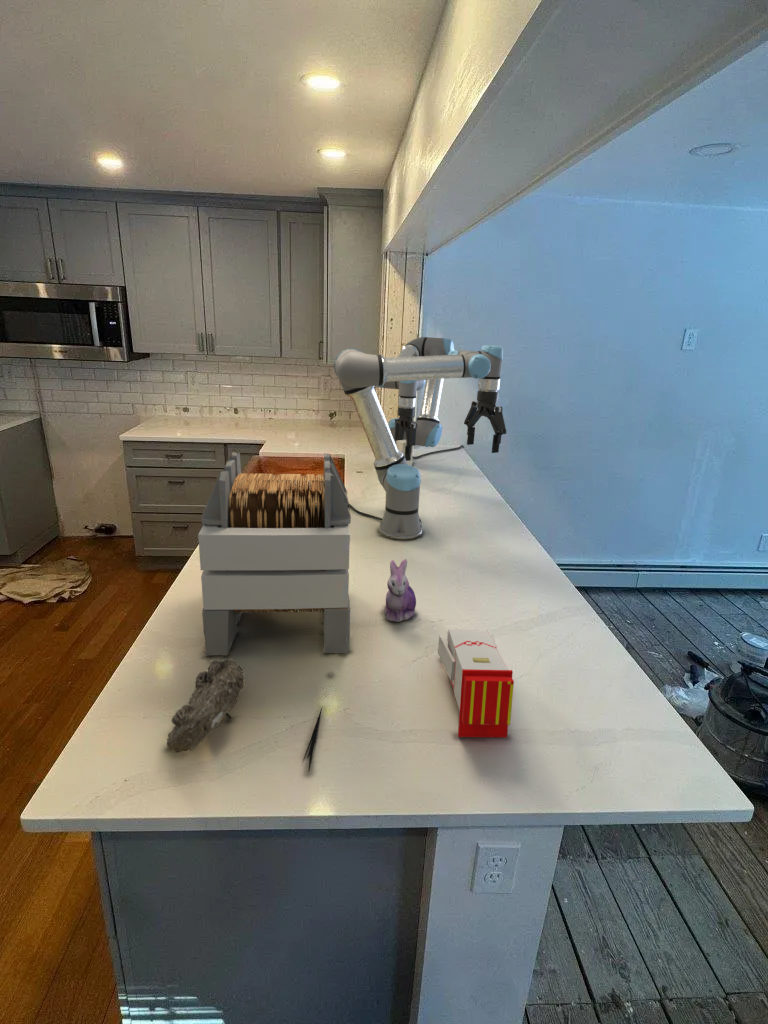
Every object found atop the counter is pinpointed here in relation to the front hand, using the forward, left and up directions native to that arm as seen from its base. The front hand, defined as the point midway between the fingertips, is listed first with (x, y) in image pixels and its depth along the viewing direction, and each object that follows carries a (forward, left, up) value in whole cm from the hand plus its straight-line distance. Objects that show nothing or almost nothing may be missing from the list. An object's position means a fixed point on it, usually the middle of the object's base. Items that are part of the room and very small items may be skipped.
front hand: (482, 448), depth 210 cm
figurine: (+37, -73, -27) cm, 87 cm away
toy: (+70, -83, -27) cm, 112 cm away
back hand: (-49, +7, -16) cm, 52 cm away
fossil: (+45, -128, -27) cm, 138 cm away
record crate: (+21, -98, -27) cm, 104 cm away
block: (-49, +7, -20) cm, 54 cm away
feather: (+58, -112, -27) cm, 129 cm away
